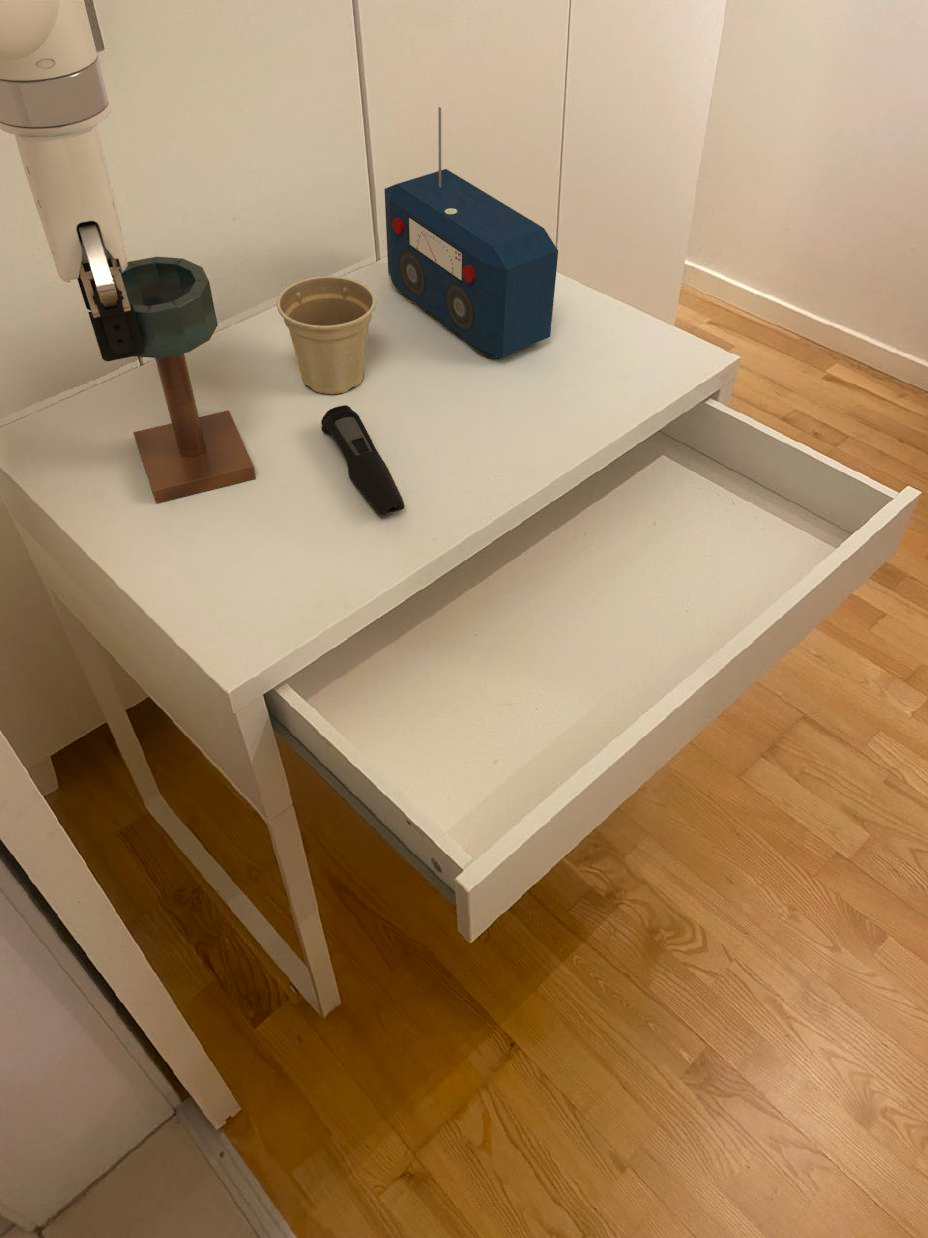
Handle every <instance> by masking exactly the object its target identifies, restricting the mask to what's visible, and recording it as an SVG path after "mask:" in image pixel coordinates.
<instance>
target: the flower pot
mask: <svg viewBox="0 0 928 1238" xmlns="http://www.w3.org/2000/svg"><path fill="white" fill-rule="evenodd" d="M376 307H377V298H376V294H375V293H374V291H373V290H372V289H371V288H370V287H369V286H367V285H366V284H365V283H363V282H361V281H359V280H356V279H354V278H350V277H346V276H339V275H321V276H313V277H309V278H304V279H300V280H297V281H295V282H293V283H291V284H289V285H288V286H286V287H285V288H284V289H282V291H280V293H279V294H278V297H277V298H276V309H277V312H278V314H279V315H280V316H281V318H283V323H284V324H285V326H286V327H287V329H288V331H289V335H290V338H291V343H292V345H293V350H294V352H295V357H296V360H297V363H298V368H299V371H300V375H301V379H302V382H303V384H304V385H305V386H308V387H309V388H311V389H312V390H313V391H314V392H316V393H319V394H320V393H321V394H325V395H327V394H328V395H338V394H343V393H346V392H348V391H349V390H351V389H352V388H355V387H358V386H359V385H360V384H361V383H362V382H363V379H364V376H365V373H364V372H365V365H366V364H365V363H366V351H367V342H368V334H369V333H368V332H369V324H370V323H371V320H372V315H373V313H374V311H375V309H376Z"/></svg>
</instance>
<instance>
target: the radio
mask: <svg viewBox="0 0 928 1238" xmlns="http://www.w3.org/2000/svg"><path fill="white" fill-rule="evenodd" d="M437 109H438V110H437V111H438V113H437V114H438V170H437V171H434V172H431V173H428V174H425V175H421V176H418V177H415V178H412V179H408V180H405V181H402V182H398V183H395V184H392V185H390V186H388V187H385V188H384V189H383V190H384V209H385V210H384V212H385V232H386V252H387V253H386V255H387V256H386V257H387V274H388V275H389V278H390V281H391V282H392V285H394V287H395V288H396V289H397V290H398V292H399V293H401V294H402V295H403V296H404V297H406V298H408V299H409V300H410V301H411V302H412V303H414V304H415V305H416V306H417V307H419V308H421V309H422V310H424V311H425V312H426V313H427V314H428V315H429V316H432V317H433V318H434V319H435V320H437V321H438V322H439V323H441V325H443V326H444V327H445V328H447V329H448V330H450V331H451V332H453V333H454V334H455V335H456V336H458V337H459V338H460V339H462V340H463V341H464V342H466V343H467V344H468V345H470V346H471V347H472V348H474V349H475V350H476V351H478V352H479V353H480V354H482V355H483V356H484V357H486V358H487V359H495V358H496V359H497V358H504V357H506V356H508V355H511V354H513V353H515V352H517V351H520V350H523V349H525V348H527V347H530V346H532V345H535V344H537V343H539V342H541V341H544V340H546V339H548V338H551V331H552V322H553V310H554V303H555V302H554V301H555V290H556V288H555V287H556V280H557V269H558V260H559V259H558V258H559V250H558V248H557V246H556V245H555V243H554V241H553V240H552V239H551V237H550V235H549V234H548V232H547V230H546V229H545V227H543V226H542V225H540V224H538V223H536V222H535V221H534V220H532V219H530V218H528V217H526V216H525V215H523V214H521V213H520V212H518V211H517V210H515V209H513V208H512V207H510V206H509V205H507V204H505V203H504V202H502V201H500V200H498V199H497V198H495V197H494V196H493V195H490V194H489V193H487V192H486V191H483V190H482V189H480V188H479V187H477V186H476V185H474V184H472V183H471V182H469V181H467V180H466V179H464V178H463V177H460V176H459V175H458V174H456V173H454V172H452V171H450V170H449V169H447V168H443V169H442V107H440V106H438V108H437Z"/></svg>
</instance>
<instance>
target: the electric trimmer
mask: <svg viewBox="0 0 928 1238" xmlns="http://www.w3.org/2000/svg"><path fill="white" fill-rule="evenodd" d="M320 424H321V431H322V432H323V434H330V435H331V436H332V438H333V439H334V442H335V443H336V444H337V446H338V448H339V449H340V451H341V454H342V456H343V458H344V461H346V466H347V471H348V472H347V474H348V477H349V480H350V481H351V482H352V484H353V486H355V488H356V489H357V490H358V492H359V493H360V494H361V495H362V496H363V497H364V499H365V500H366V501H367V503H368V504H369V505H370V507H372V509H374V511H375V512H376V513H377V515H379V516H385V515H388V514H392V513H396V512H400V511H402V510H404V509H405V502H404V500H403V497H402V495H401V493H400V491H399V489H398V486H397V484H396V483H395V480H394V478H393V476H392V474H391V472H390V469H389V468H388V465H387V464H386V463H385V461H384V460H383V458H382V457H381V454H380V452H378V450H377V448H376V446H375V444H374V442H373V440H372V438H371V435H370V434H369V432H368V431H367V428H366V427H365V424H364V423H363V421H362V419H361V417H360V415H359V414H358V413H357V412H356V411H354V410H353V409H352V408H351V407H350V406H349V405H345V404H344V405H339V406H335V407H332V408H330V409H328V410H327V411H326V413H324V415H323V416H322V418H321V420H320Z"/></svg>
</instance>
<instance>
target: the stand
mask: <svg viewBox="0 0 928 1238" xmlns="http://www.w3.org/2000/svg"><path fill="white" fill-rule="evenodd" d="M154 359H155V364H156V367H157V371H158V375H159V379H160V383H161V387H162V392H163V395H164V399H165V402H166V406H167V410H168V414H169V417H170V418H169V419H170V421H171V423H167V424H162V425H158V426H154V427H149V428H146V429H140V430H136V431H133V432H132V434H133V436H134V440H135V443H136V447H137V449H138V453H139V455H140V459H141V463H142V465H143V468H144V471H145V474H146V477H147V481H148V483H149V486H150V489H151V492H152V496H153V499H154V502H155V504H160V503H161V504H162V503H165V502H169V501H172V500H178V499H180V498H185V497H188V496H193V495H196V494H201V493H204V492H209V491H213V490H217V489H221V488H224V487H229V486H232V485H238V484H241V483H244V482H249V481H252V480H256V479H257V477H256V471H255V466H254V464H253V462H252V459H251V457H250V455H249V452H248V450H247V448H246V446H245V443H244V441H243V439H242V437H241V434H240V432H239V430H238V427H237V425H236V423H235V420H234V419H233V417H232V415H231V412H230V410H229V409H228V410H224V411H219V412H215V413H211V414H207V415H202V416H199V411H198V407H197V402H196V398H195V395H194V394H195V393H194V390H193V386H192V381H191V377H190V373H189V368H188V363H187V359H186V355H185V353H184V354H179V355H174V356H169V357H165V358H154Z"/></svg>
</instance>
